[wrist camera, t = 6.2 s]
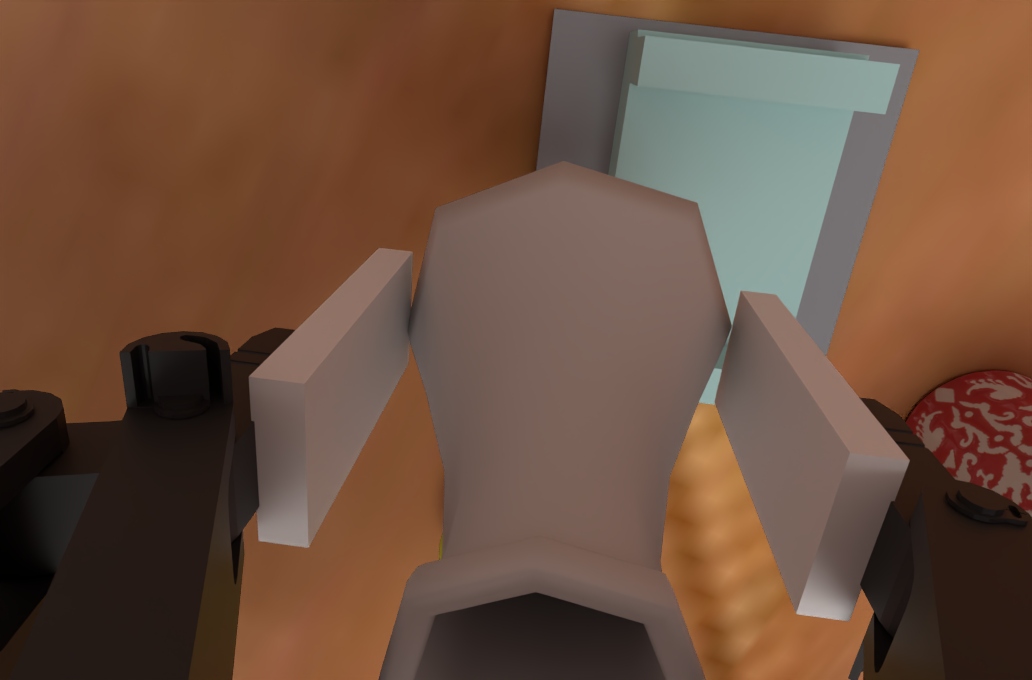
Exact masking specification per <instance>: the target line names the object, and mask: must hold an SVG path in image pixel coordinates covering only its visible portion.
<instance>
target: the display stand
mask: <svg viewBox="0 0 1032 680" xmlns="http://www.w3.org/2000/svg"><path fill="white" fill-rule="evenodd" d="M918 53H919V50H915V49H906V48H897V47H888V46H879V45H870V44H862V43H853V42H844V41H835V40H826V39H817V38H808V37H800V36H791V35H782V34H773V33H764V32H755V31H746V30H737V29H729V28H720V27H711V26H702V25H693V24H684V23H675V22H667V21H658V20H649V19H640V18H631V17H622V16H613V15H604V14H596V13H587V12H578V11H569V10H560V9H554V18H553V27H552V35H551V44H550V53H549V62H548V71H547V79H546V88H545V97H544V106H543V114H542V123H541V132H540V141H539V149H538V158H537V167H536V171H537V170H540V169H543V168H546V167H548V166H551V165H554V164H556V163H559V162H562V161H566V162H569V163H572V164H575V165H578V166H582V167H585V168H588V169H591V170H594V171H598V172H601V173H604V174H607V175H610V176H614V177H617V178H620V179H623V180H626V181H630V182H633V183H636V184H639V185H642V186H645V187H649V188H652V189H655V190H658V191H661V192H665V193H668V194H671V195H674V196H677V197H681V198H684V199H687V200H690V201H693V202H697V203H698V207H699V210H700V214H701V217H702V221H703V225H704V228H705V232H706V235H707V239H708V242H709V246H710V249H711V253H712V257H713V260H714V264H715V267H716V271H717V274H718V278H719V282H720V285H721V289H722V292H723V296H724V299H725V303H726V307H727V310H728V314H729V317H730V321H731V324H732V325H733V321H734V317H735V313H736V308H737V304H738V300H739V296H740V292H741V291H750V292H758V293H767V294H775V295H777V296H778V298H779V299H780V300H781V301H782V303H783V304H784V305H785V306H786V308H787V309H788V310H789V311H790V312H791V314H792V315H793V316H794V317H795V319H796V320H797V321H798V322H799V324H800V325H801V326H802V327H803V329H804V330H805V331H806V332H807V334H808V335H809V336H810V337H811V338H812V340H813V341H814V342H815V343H816V345H817V346H818V347H819V348H820V350H821V351H822V352H823V353H824V355H825V356H826V354H827V351H828V348H829V345H830V341H831V338H832V335H833V332H834V328H835V325H836V322H837V318H838V315H839V312H840V309H841V305H842V302H843V299H844V296H845V292H846V289H847V286H848V282H849V279H850V276H851V273H852V269H853V266H854V263H855V260H856V256H857V253H858V250H859V246H860V243H861V240H862V237H863V233H864V230H865V227H866V224H867V220H868V217H869V214H870V210H871V207H872V204H873V201H874V197H875V194H876V191H877V188H878V184H879V181H880V178H881V174H882V171H883V168H884V165H885V161H886V158H887V155H888V152H889V148H890V145H891V142H892V138H893V135H894V132H895V129H896V125H897V122H898V119H899V116H900V112H901V109H902V106H903V102H904V99H905V96H906V93H907V89H908V86H909V83H910V80H911V76H912V73H913V70H914V66H915V63H916V60H917V57H918ZM731 330H732V328H731ZM730 334H731V331H730V333H729V336H728V338H727V341H726V343H725V346H724V348H723V350H722V352H721V354H720V357H719V359H718V361H717V363H716V365H715V368H714V370H713V372H712V374H711V376H710V379H709V381H708V383H707V385H706V387H705V390H704V392H703V394H702V396H701V398H700V401H699V403H706V404H714V405H715V402H714V401H715V397H716V393H717V389H718V384H719V380H720V376H721V372H722V367H723V363H724V359H725V355H726V351H727V346H728V342H729V338H730Z"/></svg>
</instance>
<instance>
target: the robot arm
mask: <svg viewBox="0 0 1032 680" xmlns="http://www.w3.org/2000/svg"><path fill="white" fill-rule="evenodd" d="M412 266H413V252H411V251H403V250H394V249H386V248H378V249H377V250H376V251H375V252H374V253H373V254H372V255H371V256H370V257H369V258H368V259H367V260H366V261H365V262H364V263H363V264H362V265H361V266H360V267H359V268H358V269H357V270H356V271H355V272H354V273H353V274H352V275H351V276H350V277H349V278H348V279H347V280H346V281H345V282H344V283H343V284H342V285H341V286H340V287H339V288H338V289H337V290H336V291H335V292H334V293H333V294H332V295H331V296H330V297H329V298H328V299H327V300H326V301H325V302H324V303H323V304H322V305H321V306H320V307H319V308H318V309H317V310H316V311H315V312H314V313H313V314H312V315H311V316H310V317H309V318H308V319H307V320H305V321H304V322H303V323H302V324H301V325H300V326H299V327H298V328H297V329H296V330H290V329H282V328H273V329H270V330H268V331H265V332H263V333H261V334H258V335H256V336H253V337H251V338H250V339H249V340H248V341H247V342H246V343H244V344H243V345H242V346H241V347H240V348H239V349H238V352H234V353H233V354H232V355H231V356H230V349H229V346H228V343H227V342H226V341H225V340H223V339H222V338H220V337H218V336H215V335H211V334H207V333H203V332H186V331H181V332H170V333H161V334H157V335H152V336H148V337H144V338H141V339H139V340H137V341H134V342H132V343H130V344H128V345H127V346H126V347H125V348H124V349H123V350H122V351H120V352H119V353H120V360H121V367H122V374H123V381H124V388H125V395H126V402H127V410H126V413H125V415H124V417H123V420H121V421H110V422H88V423H66V420H65V414H64V409H63V405H62V401H61V399H60V398H58V397H56V396H54V395H53V394H51V393H46V392H40V391H34V390H26V391H18V390H3V391H2V393H0V680H232V676H233V666H234V656H235V645H236V635H237V625H238V615H239V604H240V594H241V584H242V573H243V563H244V542H243V529H244V527H245V526H246V525H247V523H248V522H249V520H250V519H251V517H252V516H253V515H254V513H255V512H256V510H257V523H258V540H259V541H263V542H270V543H277V544H285V545H292V546H299V547H307V548H309V546H310V544H311V542H312V541H313V539H314V537H315V535H316V533H317V531H318V529H319V528H320V526H321V524H322V522H323V520H324V518H325V517H326V515H327V513H328V511H329V509H330V507H331V506H332V504H333V502H334V500H335V498H336V496H337V494H338V493H339V491H340V489H341V487H342V485H343V483H344V482H345V480H346V478H347V476H348V474H349V472H350V471H351V469H352V467H353V465H354V463H355V461H356V460H357V458H358V456H359V454H360V452H361V450H362V448H363V447H364V445H365V443H366V441H367V439H368V437H369V436H370V434H371V432H372V430H373V428H374V426H375V425H376V423H377V421H378V419H379V417H380V415H381V413H382V412H383V410H384V408H385V406H386V404H387V402H388V401H389V399H390V397H391V395H392V393H393V391H394V390H395V388H396V386H397V384H398V382H399V380H400V378H401V377H402V375H403V373H404V371H405V369H406V367H407V366H408V364H409V341H410V340H409V336H408V325H409V318H410V312H411V291H412ZM714 402H715V405H716V407H717V410H718V412H719V415H720V418H721V420H722V423H723V425H724V428H725V431H726V433H727V436H728V438H729V441H730V444H731V446H732V449H733V451H734V454H735V457H736V459H737V462H738V464H739V467H740V470H741V472H742V475H743V477H744V480H745V483H746V485H747V488H748V490H749V493H750V496H751V498H752V501H753V503H754V506H755V509H756V511H757V514H758V516H759V519H760V522H761V524H762V527H763V529H764V532H765V535H766V537H767V540H768V542H769V545H770V548H771V550H772V553H773V555H774V558H775V561H776V563H777V566H778V568H779V571H780V574H781V576H782V579H783V581H784V584H785V587H786V589H787V592H788V594H789V597H790V600H791V602H792V605H793V607H794V610H795V613H796V614H800V615H807V616H814V617H821V618H829V619H836V620H843V621H850V618H851V615H852V613H853V610H854V607H855V605H856V602H857V599H858V597H859V594H860V591H861V589H863V591H864V593H865V595H866V597H867V599H868V601H869V603H870V604H871V606H872V608H873V610H874V613H873V616H872V618H871V621H870V624H869V626H868V629H867V631H866V634H865V636H864V639H863V641H862V644H861V646H860V649H859V652H858V654H857V657H856V659H855V662H854V664H853V667H852V669H851V672H850V675H849V677H848V679H851V680H858V678H859V675H860V673H861V672H862V671H864V672H863V680H1032V517H1031V516H1030V514H1029V513H1028V512H1026V511H1025V510H1024V509H1023V508H1021V507H1020V506H1019V505H1017V504H1016V503H1015V502H1013V501H1012V500H1010V499H1008V498H1006V497H1004V496H1002V495H1000V494H998V493H997V492H995V491H993V490H990V489H987V488H984V487H982V486H979V485H976V484H973V483H970V482H965V481H960V480H955V478H954V477H953V476H952V475H951V474H950V473H949V472H948V470H947V469H946V468H945V467H944V466H943V465H942V464H941V463H940V461H939V460H938V459H937V458H936V457H935V456H934V455H933V453H932V452H931V451H930V450H929V449H928V448H925V444H924V443H923V442H922V441H921V440H920V439H919V437H918V436H917V435H914V434H913V431H912V429H911V428H910V427H909V426H908V425H907V424H906V423H905V421H904V420H903V419H902V418H901V417H900V416H899V415H898V414H896V413H895V412H893V411H892V410H890V409H889V408H887V407H886V406H884V405H882V404H881V403H879V402H878V401H876V400H874V399H866V398H859V397H858V395H857V394H856V393H855V392H854V391H853V389H852V388H851V387H850V386H849V384H848V383H847V382H846V381H845V379H844V378H843V377H842V376H841V374H840V373H839V372H838V371H837V369H836V368H835V367H834V366H833V365H832V363H831V362H830V361H829V360H828V358H827V357H826V356H825V355H824V353H823V352H822V351H821V350H820V348H819V347H818V346H817V345H816V343H815V342H814V341H813V340H812V338H811V337H810V336H809V335H808V334H807V332H806V331H805V330H804V329H803V327H802V326H801V325H800V324H799V322H798V321H797V320H796V319H795V317H794V316H793V315H792V314H791V312H790V311H789V310H788V309H787V308H786V306H785V305H784V304H783V303H782V301H781V300H780V299H779V298H778V296H777V295H775V294H767V293H758V292H750V291H741V292H740V296H739V300H738V304H737V308H736V313H735V317H734V321H733V325H732V330H731V334H730V338H729V342H728V346H727V351H726V355H725V359H724V363H723V367H722V372H721V376H720V380H719V384H718V389H717V393H716V397H715V401H714Z"/></svg>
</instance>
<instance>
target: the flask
mask: <svg viewBox="0 0 1032 680" xmlns="http://www.w3.org/2000/svg"><path fill="white" fill-rule="evenodd" d="M731 328H732V324H731V321H730V317H729V314H728V310H727V307H726V303H725V299H724V296H723V292H722V289H721V285H720V282H719V278H718V274H717V271H716V267H715V264H714V260H713V257H712V253H711V249H710V246H709V242H708V239H707V235H706V232H705V228H704V225H703V221H702V217H701V214H700V210H699V207H698V203H697V202H693V201H690V200H687V199H684V198H681V197H677V196H674V195H671V194H668V193H665V192H661V191H658V190H655V189H652V188H649V187H645V186H642V185H639V184H636V183H633V182H630V181H626V180H623V179H620V178H617V177H614V176H610V175H607V174H604V173H601V172H598V171H594V170H591V169H588V168H585V167H582V166H578V165H575V164H572V163H569V162H566V161H562V162H559V163H556V164H554V165H551V166H548V167H546V168H543V169H540V170H537V171H535V172H532V173H529V174H526V175H524V176H521V177H518V178H516V179H513V180H510V181H507V182H505V183H502V184H499V185H496V186H494V187H491V188H488V189H486V190H483V191H480V192H477V193H475V194H472V195H469V196H467V197H464V198H461V199H458V200H456V201H453V202H450V203H447V204H445V205H442V206H439V207H437V208H436V209H435V213H434V217H433V221H432V225H431V229H430V233H429V237H428V241H427V246H426V250H425V254H424V258H423V262H422V266H421V270H420V274H419V278H418V282H417V286H416V290H415V295H414V299H413V303H412V307H411V312H410V318H409V325H408V336H409V340H410V344H411V347H412V350H413V353H414V356H415V360H416V363H417V366H418V369H419V372H420V375H421V378H422V382H423V385H424V388H425V391H426V395H427V399H428V403H429V408H430V412H431V416H432V421H433V425H434V429H435V433H436V438H437V442H438V446H439V451H440V455H441V459H442V463H443V468H444V472H445V474H444V510H443V545H442V557H441V560H437V561H433V562H429V563H425V564H423V565H420V566H418V567H417V568H416V570H415V571H414V572H413V574H412V575H411V576H410V578H409V579H408V580H407V584H406V587H405V590H404V594H403V597H402V601H401V604H400V607H399V611H398V614H397V618H396V621H395V625H394V628H393V631H392V635H391V638H390V642H389V645H388V648H387V652H386V655H385V659H384V662H383V665H382V669H381V672H380V676H379V680H706V679H705V676H704V673H703V670H702V668H701V665H700V662H699V659H698V657H697V654H696V651H695V648H694V646H693V643H692V640H691V637H690V635H689V632H688V629H687V626H686V624H685V621H684V618H683V615H682V613H681V610H680V607H679V605H678V602H677V599H676V596H675V594H674V591H673V589H672V587H671V585H670V583H669V581H668V579H667V577H666V575H665V574H664V573H662V569H661V561H660V560H661V551H662V542H663V533H664V524H665V515H666V506H667V497H668V488H669V479H670V475H671V472H672V469H673V467H674V464H675V462H676V459H677V456H678V454H679V451H680V449H681V446H682V443H683V441H684V438H685V436H686V433H687V430H688V428H689V425H690V423H691V420H692V417H693V415H694V412H695V410H696V407H697V405H698V403H699V401H700V398H701V396H702V394H703V392H704V390H705V387H706V385H707V383H708V381H709V379H710V376H711V374H712V372H713V370H714V368H715V365H716V363H717V361H718V359H719V357H720V354H721V352H722V350H723V348H724V346H725V343H726V341H727V338H728V336H729V333H730V331H731Z"/></svg>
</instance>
